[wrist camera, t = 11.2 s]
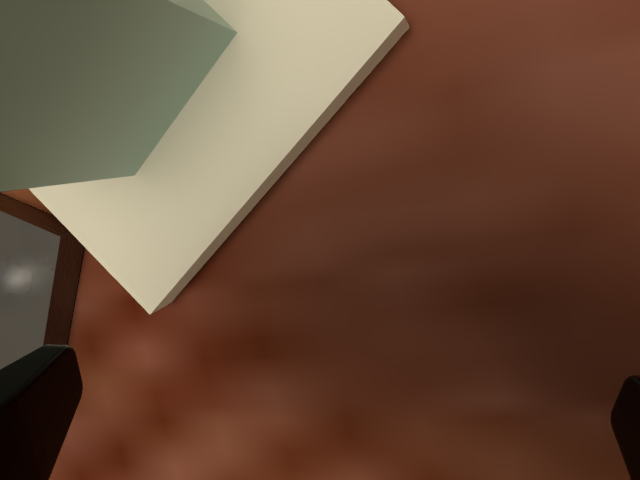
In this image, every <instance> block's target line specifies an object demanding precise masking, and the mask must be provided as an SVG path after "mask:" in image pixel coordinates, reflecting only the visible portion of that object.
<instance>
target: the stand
mask: <svg viewBox="0 0 640 480" xmlns="http://www.w3.org/2000/svg"><path fill="white" fill-rule="evenodd" d="M83 252H84V246H83V245H82V244H81V243H80V242H79V241H78V240H77V238H76V237H75V236H74V235H73V234H72V233H71V232H70V231H69V230H68V229H67V228H66V227H65V226H64V225H63V224H62V223H61V222H60V221H59V220H58V219H57V218H56V217H55V216H53V215H51V214H48V213H46V212H43V211H41V210H39V209H36V208H34V207H32V206H29V205H27V204H24V203H22V202H20V201H17V200H15V199H13V198H10V197H8V196H5V195H3V194H1V193H0V369H2V368H4V367H5V366H7V365H9V364H11V363H13V362H14V361H16V360H18V359H20V358H22V357H23V356H25V355H27V354H29V353H30V352H32V351H34V350H36V349H38V348H39V347H41V346H43V345H48V344H55V345H67V343H68V337H69V331H70V326H71V320H72V314H73V309H74V303H75V297H76V292H77V286H78V280H79V275H80V269H81V264H82V258H83Z"/></svg>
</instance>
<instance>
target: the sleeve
mask: <svg viewBox="0 0 640 480" xmlns="http://www.w3.org/2000/svg"><path fill="white" fill-rule="evenodd" d="M236 34H237V32H236V31H235V30H234V29H233V28H232V27H231V26H230V25H229V24H228V23H227V22H226V21H225V20H224V19H223V18H222V17H221V16H220V15H219V14H218V13H217V12H216V11H215V10H213V9H212V8H211V7H210V6H209V5H208V4H207V3H206V2H205V1H204V0H0V192H3V191H12V190H20V189H28V188H36V187H45V186H53V185H61V184H69V183H78V182H86V181H94V180H102V179H111V178H119V177H127V176H135V174H136V173H137V172H138V170H139V169H140V167H141V166H142V165H143V163H144V162H145V160H146V159H147V158H148V156H149V155H150V153H151V152H152V151H153V149H154V148H155V146H156V145H157V144H158V142H159V141H160V139H161V138H162V137H163V135H164V134H165V133H166V131H167V130H168V128H169V127H170V126H171V124H172V123H173V121H174V120H175V119H176V117H177V116H178V114H179V113H180V112H181V110H182V109H183V107H184V106H185V105H186V103H187V102H188V100H189V99H190V98H191V96H192V95H193V93H194V92H195V91H196V89H197V88H198V87H199V85H200V84H201V82H202V81H203V80H204V78H205V77H206V75H207V74H208V73H209V71H210V70H211V68H212V67H213V66H214V64H215V63H216V61H217V60H218V59H219V57H220V56H221V54H222V53H223V52H224V50H225V49H226V48H227V46H228V45H229V43H230V42H231V41H232V39H233V38H234V36H235V35H236Z"/></svg>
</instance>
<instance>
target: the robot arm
mask: <svg viewBox="0 0 640 480" xmlns="http://www.w3.org/2000/svg"><path fill="white" fill-rule="evenodd" d="M82 390H83V384H82V379H81V374H80V370H79V366H78V362H77V357H76V353H75V350H74V349H73V348H72V347H71V346H68V345H55V344H48V345H43V346H41V347H39V348H38V349H36V350H34V351H32V352H30V353H29V354H27V355H25V356H23V357H22V358H20V359H18V360H16V361H14V362H13V363H11V364H9V365H7V366H5V367H4V368H2V369H0V480H49V477H50V475H51V473H52V470H53V468H54V465H55V463H56V460H57V458H58V455H59V452H60V450H61V447H62V445H63V442H64V440H65V437H66V435H67V432H68V430H69V427H70V424H71V422H72V419H73V417H74V414H75V412H76V409H77V407H78V404H79V402H80V399H81V395H82ZM611 425H612V428H613V431H614V434H615V437H616V440H617V442H618V445H619V448H620V451H621V453H622V456H623V459H624V462H625V464H626V467H627V470H628V473H629V475H630V478H631V480H640V376H639V375H632V376H629V377H628V378H627V379H625V381H624V383H623V385H622V388H621V390H620V392H619V395H618V397H617V400H616V402H615V404H614V407H613V409H612V412H611Z"/></svg>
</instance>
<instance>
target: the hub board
mask: <svg viewBox="0 0 640 480" xmlns="http://www.w3.org/2000/svg"><path fill="white" fill-rule="evenodd" d="M204 1H205V2H206V3H207V4H208V5H209V6H210V7H211V8H212V9H213V10H215V11H216V12H217V13H218V14H219V15H220V16H221V17H222V18H223V19H224V20H225V21H226V22H227V23H228V24H229V25H230V26H231V27H232V28H233V29H234V30H235V31H236V32H237V34H236V35H235V36H234V38H233V39H232V41H231V42H230V43H229V45H228V46H227V48H226V49H225V50H224V52H223V53H222V54H221V56H220V57H219V59H218V60H217V61H216V63H215V64H214V66H213V67H212V68H211V70H210V71H209V73H208V74H207V75H206V77H205V78H204V80H203V81H202V82H201V84H200V85H199V87H198V88H197V89H196V91H195V92H194V93H193V95H192V96H191V98H190V99H189V100H188V102H187V103H186V105H185V106H184V107H183V109H182V110H181V112H180V113H179V114H178V116H177V117H176V119H175V120H174V121H173V123H172V124H171V126H170V127H169V128H168V130H167V131H166V133H165V134H164V135H163V137H162V138H161V139H160V141H159V142H158V144H157V145H156V146H155V148H154V149H153V151H152V152H151V153H150V155H149V156H148V158H147V159H146V160H145V162H144V163H143V165H142V166H141V167H140V169H139V170H138V172H137V173H136V174H135V176H127V177H119V178H111V179H102V180H94V181H86V182H78V183H69V184H61V185H53V186H45V187H36V188H28V189H29V190H30V191H31V192H32V193H33V194H34V195H35V196H36V197H37V198H38V199H39V200H40V201H41V202H42V203H43V204H44V205H45V206H46V207H47V208H48V209H49V210H50V211H51V213H52V214H53V215H54V216H55V217H56V218H57V219H58V220H59V221H60V222H61V223H62V224H63V225H64V226H65V227H66V228H67V229H68V230H69V231H70V232H71V233H72V234H73V235H74V236H75V237H76V238H77V240H78V241H79V242H80V243H81V244H82V245H83V246H84V247H85V248H86V249H87V250H88V251H89V252H90V253H91V254H92V255H93V256H94V257H95V258H96V259H97V260H98V261H99V262H100V263H101V264H102V265H103V267H104V268H105V269H106V270H107V271H108V272H109V273H110V274H111V275H112V276H113V277H114V278H115V279H116V280H117V281H118V282H119V283H120V284H121V285H122V286H123V287H124V288H125V289H126V290H127V291H128V292H129V293H130V295H131V296H132V297H133V298H134V299H135V300H136V301H137V302H138V303H139V304H140V305H141V306H142V307H143V308H144V309H145V310H146V311H147V312H148V313H149V314H152V313H154V312H156V311H157V310H159V309H161V308H163V307H164V306H166V305H168V304H170V303H171V302H172V301H173V300H174V299H175V298H176V297H177V295H178V294H179V293H180V292H181V291H182V290H183V288H184V287H185V286H186V285H187V284H188V283H189V282H190V280H191V279H192V278H193V277H194V276H195V275H196V273H197V272H198V271H199V270H200V269H201V268H202V267H203V265H204V264H205V263H206V262H207V261H208V260H209V258H210V257H211V256H212V255H213V254H214V253H215V252H216V250H217V249H218V248H219V247H220V246H221V245H222V243H223V242H224V241H225V240H226V239H227V238H228V237H229V235H230V234H231V233H232V232H233V231H234V230H235V228H236V227H237V226H238V225H239V224H240V223H241V222H242V220H243V219H244V218H245V217H246V216H247V215H248V213H249V212H250V211H251V210H252V209H253V208H254V207H255V205H256V204H257V203H258V202H259V201H260V200H261V198H262V197H263V196H264V195H265V194H266V193H267V192H268V190H269V189H270V188H271V187H272V186H273V185H274V183H275V182H276V181H277V180H278V179H279V178H280V177H281V175H282V174H283V173H284V172H285V171H286V170H287V168H288V167H289V166H290V165H291V164H292V163H293V162H294V160H295V159H296V158H297V157H298V156H299V155H300V153H301V152H302V151H303V150H304V149H305V148H306V147H307V145H308V144H309V143H310V142H311V141H312V140H313V138H314V137H315V136H316V135H317V134H318V133H319V132H320V130H321V129H322V128H323V127H324V126H325V125H326V123H327V122H328V121H329V120H330V119H331V118H332V117H333V115H334V114H335V113H336V112H337V111H338V110H339V108H340V107H341V106H342V105H343V104H344V103H345V102H346V100H347V99H348V98H349V97H350V96H351V95H352V93H353V92H354V91H355V90H356V89H357V88H358V87H359V85H360V84H361V83H362V82H363V81H364V80H365V78H366V77H367V76H368V75H369V74H370V73H371V72H372V70H373V69H374V68H375V67H376V66H377V65H378V63H379V62H380V61H381V60H382V59H383V58H384V57H385V55H386V54H387V53H388V52H389V51H390V50H391V48H392V47H393V46H394V45H395V44H396V43H397V42H398V40H399V39H400V38H401V37H402V36H403V35H404V33H405V32H406V31H407V30H408V29H409V28H410V27H409V25H408V22H407V20H406V18H405V17H404V16H403V15H402V14H401V13H400V12H399V11H398V10H397V9H396V8H395V7H394V6H393V5H392V4H391V3H390V2H389V1H388V0H204Z"/></svg>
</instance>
